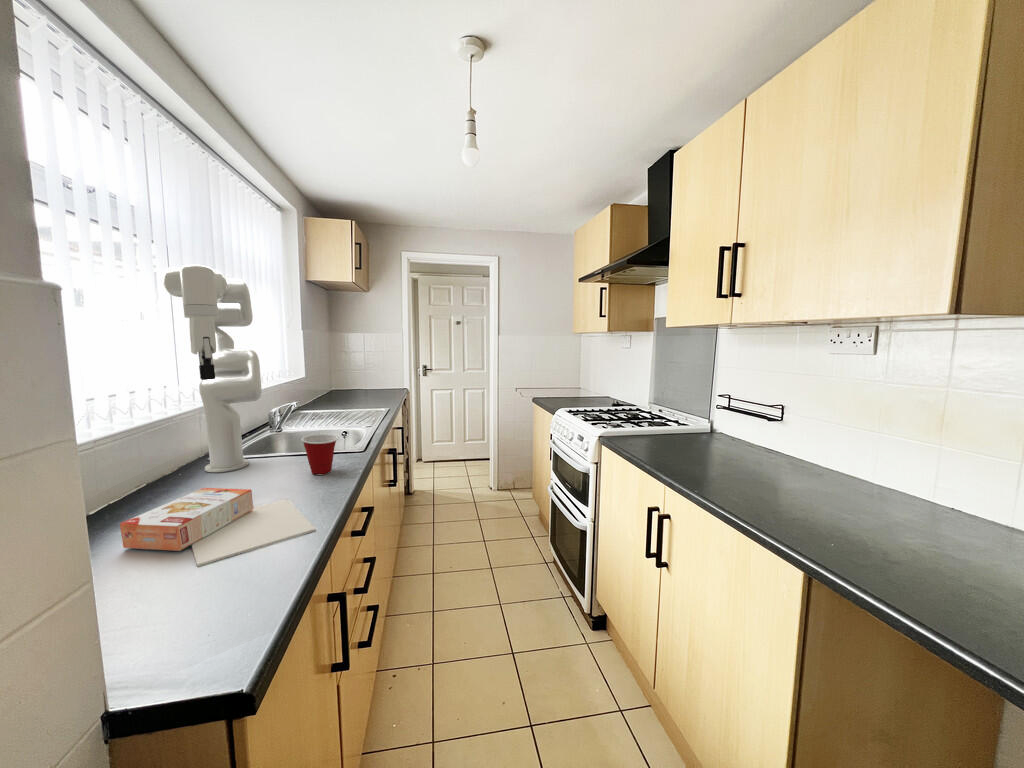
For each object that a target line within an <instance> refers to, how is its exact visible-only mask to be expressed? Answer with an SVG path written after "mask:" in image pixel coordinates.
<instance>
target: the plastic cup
mask: <svg viewBox="0 0 1024 768" xmlns="http://www.w3.org/2000/svg"><path fill="white" fill-rule="evenodd" d="M338 439H339V438H338V436H337V435H334V434H329V433H319V434H318V433H317V434H310V435H309V434H308V435H306V436H303V437H301V442H302V443H303V446H304V449H305V453H306V458H307V461H308V465H309V468H310V472H311V474H312V475H313V474H324V475H326V474H325V473H328V472H330V471H332V468H333V462H334V455H335V454H334V453H335V447H336V443H337V441H338ZM330 473H331V472H330ZM328 474H329V473H328Z"/></svg>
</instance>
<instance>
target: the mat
mask: <svg viewBox="0 0 1024 768" xmlns="http://www.w3.org/2000/svg"><path fill="white" fill-rule="evenodd" d="M313 532H316V527H315V526H314V525H313V524H312V523H311V522H310V521H309V520H308V519H307V518H306V517H305V516H304V514H302V512H300V511H299V510H298V509H297V507H295V505H294V504H293V503H292V502H290V500H289V499H288V498H286V499H281V500H278V501H274V502H269V503H265V504H260V505H257V506H253V510H251V511H250V512H248V513H246V514H244V515H243V516H241V517H239V518H237V519H236V520H234V521H232V522H230V523H228V524H227V525H225V526H223V527H221V528H220V529H218V530H216V531H214V532H212V533H211V534H209V535H207V536H205V537H204V538H202V539H200V540H198V541H196V542H195V543H193V544H191V545H190V546H191V548H192V552H193V555H194V560H195V562H196V563H195V564H196V567H197V566H198V567H201V566H200V565H202V566H205V565H208V564H211V563H215V562H217V560H218V561H220V559H221V560H224V559H227V558H226V557H228V558H230V556H231V557H233V556H232V555H234V556H237V555H236V554H238V555H241V554H243V553H244V554H245V553H247V552H251V551H254V550H256V549H260V548H263V547H267V546H270V545H274V544H277V543H279V542H283V541H287V540H289V538H290V539H293V538H296V537H300V536H303V535H305V534H309V533H313ZM286 539H287V540H286ZM273 543H274V544H273ZM240 553H241V554H240ZM214 561H215V562H214ZM204 564H205V565H204Z"/></svg>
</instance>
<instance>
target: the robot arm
mask: <svg viewBox="0 0 1024 768" xmlns="http://www.w3.org/2000/svg"><path fill="white" fill-rule="evenodd" d="M162 283H163V285H164V288H165V290H166V291H167V292H168V293H169V294H170V295H172V296H173V297H178V298H182V305H183V315H184V317H183V318H185V319H189V320H188V321H189V322H188V323H189V337H190V339H189V340H190V352H191V353H192V354H194V355H198V360H199V361H198V362H199V365H198V368H199V377H200V380H201V381H200V383H199V386H198V388H199V395H200V398H201V400H202V401H201V402H202V405H203V409H204V416H205V425H206V426H205V427H206V434H207V436H206V437H207V446H208V453H209V454H208V456H209V464H207V465H205V466H204V471H205V472H208V473H225V472H231V471H235V470H240V469H243V468H245V467H247V466H248V465H250V460H249V459H247V458H244V452H243V449H244V448H243V442H242V441H243V440H242V428H241V427H242V426H241V418H240V413H238V411H237V410H236V409H235V408H234V407H232V406H231V404H238V403H241V404H242V403H249V402H250V403H252V402H256V401H259V400H260V399H261V396H262V378H261V377H262V376H261V367H260V366H261V365H260V359H259V356H258V354H257V352H256V351H254V350H252V349H246V348H245V349H244V348H243V349H242V348H241V349H239V348H238V349H237V348H236V349H235V342H234V340H233V338H232V337H231V336H230V335H229V333H227V332H225V331H224V330H222V329H221V328H220V327H229V328H231V327H234V328H235V327H248V326H250V325H251V324H252V323H253V316H254V315H253V309H252V303H251V302H252V301H251V294H250V290H249V287H248V285H247V283H246V282H245V281H244V280H242V279H239V278H227V277H225V276H224V274H223V273H222V272H221V271H219V270H216V269H213V268H211V267H210V266H206V265H201V264H185V265H182V266H181V267H168V268H166V269H165V270H164V272H163V275H162Z"/></svg>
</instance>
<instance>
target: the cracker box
mask: <svg viewBox="0 0 1024 768" xmlns="http://www.w3.org/2000/svg"><path fill="white" fill-rule="evenodd" d="M253 507H254V503H253V493H252V489H250V488H249V489H248V488H246V489H245V488H244V489H243V488H220V487H219V488H218V487H216V488H214V487H203V488H200V489H198V490H196V491H194V492H191V493H188V494H186V495H184V496H181V497H179V498H176V499H174V500H172V501H169V502H167V503H164V504H163V505H160V506H158V507H155V508H153V509H151V510H148V511H146V512H144V513H141V514H139V515H136V516H134V517H132V518H130V519H127V520H125V521H122V522H120V523H119V526H120V533H121V540H122V547H123V549H137V550H138V549H141V550H155V551H157V550H161V551H179V552H180V551H182V550H184V549H186V548H188V547H189V546H191V544H193V543H195V542H196V541H198V540H200V539H202V538H204V537H205V536H207V535H209V534H211V533H212V532H214V531H216V530H218V529H220V528H221V527H223V526H225V525H227V524H228V523H230V522H232V521H234V520H236V519H237V518H239V517H241V516H243V515H244V514H246V513H248V512H250V511H251V510H253Z"/></svg>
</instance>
